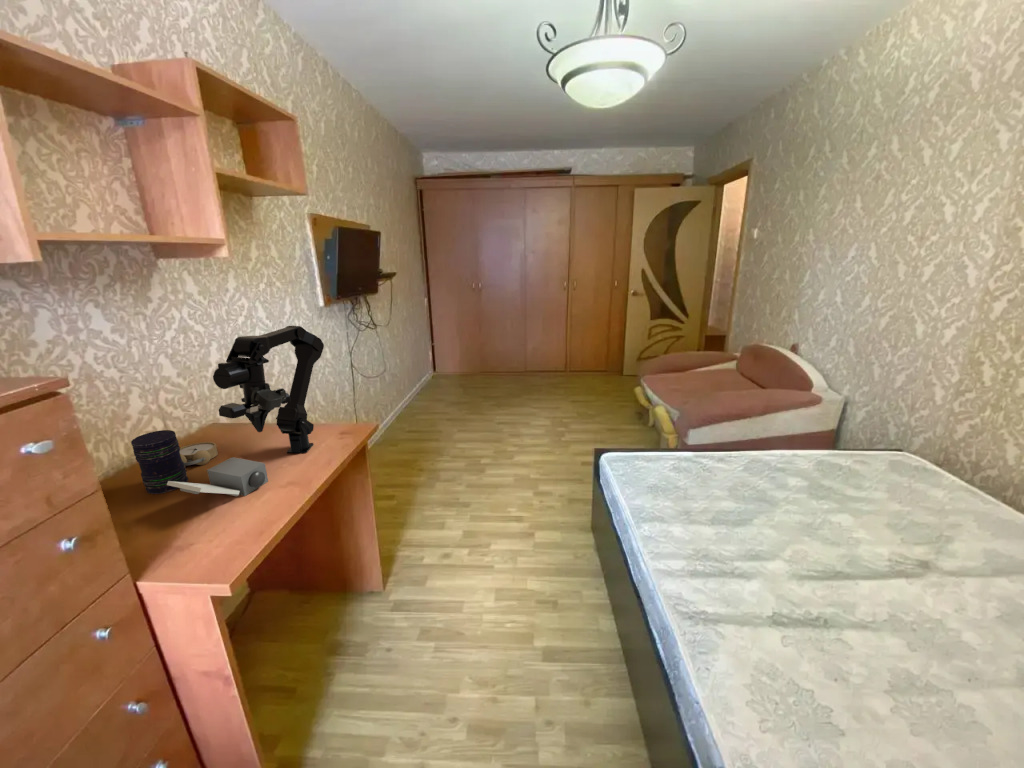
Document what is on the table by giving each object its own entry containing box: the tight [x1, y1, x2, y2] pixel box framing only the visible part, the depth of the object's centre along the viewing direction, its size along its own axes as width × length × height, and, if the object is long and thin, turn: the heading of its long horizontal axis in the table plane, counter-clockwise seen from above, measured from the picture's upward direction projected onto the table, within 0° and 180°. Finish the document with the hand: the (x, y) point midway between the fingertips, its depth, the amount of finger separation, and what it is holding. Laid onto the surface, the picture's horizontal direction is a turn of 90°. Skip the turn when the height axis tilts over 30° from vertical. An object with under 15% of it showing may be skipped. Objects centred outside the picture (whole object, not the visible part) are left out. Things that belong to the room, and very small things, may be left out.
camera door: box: [167, 481, 240, 497], centre depth 114 cm, size 2×11×12 cm
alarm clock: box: [180, 441, 219, 467], centre depth 138 cm, size 11×5×15 cm
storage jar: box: [130, 429, 189, 495], centre depth 122 cm, size 10×10×15 cm
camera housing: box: [206, 456, 269, 497], centre depth 124 cm, size 8×13×6 cm, turn 73°
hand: (260, 431), depth 128 cm, fingers closed
